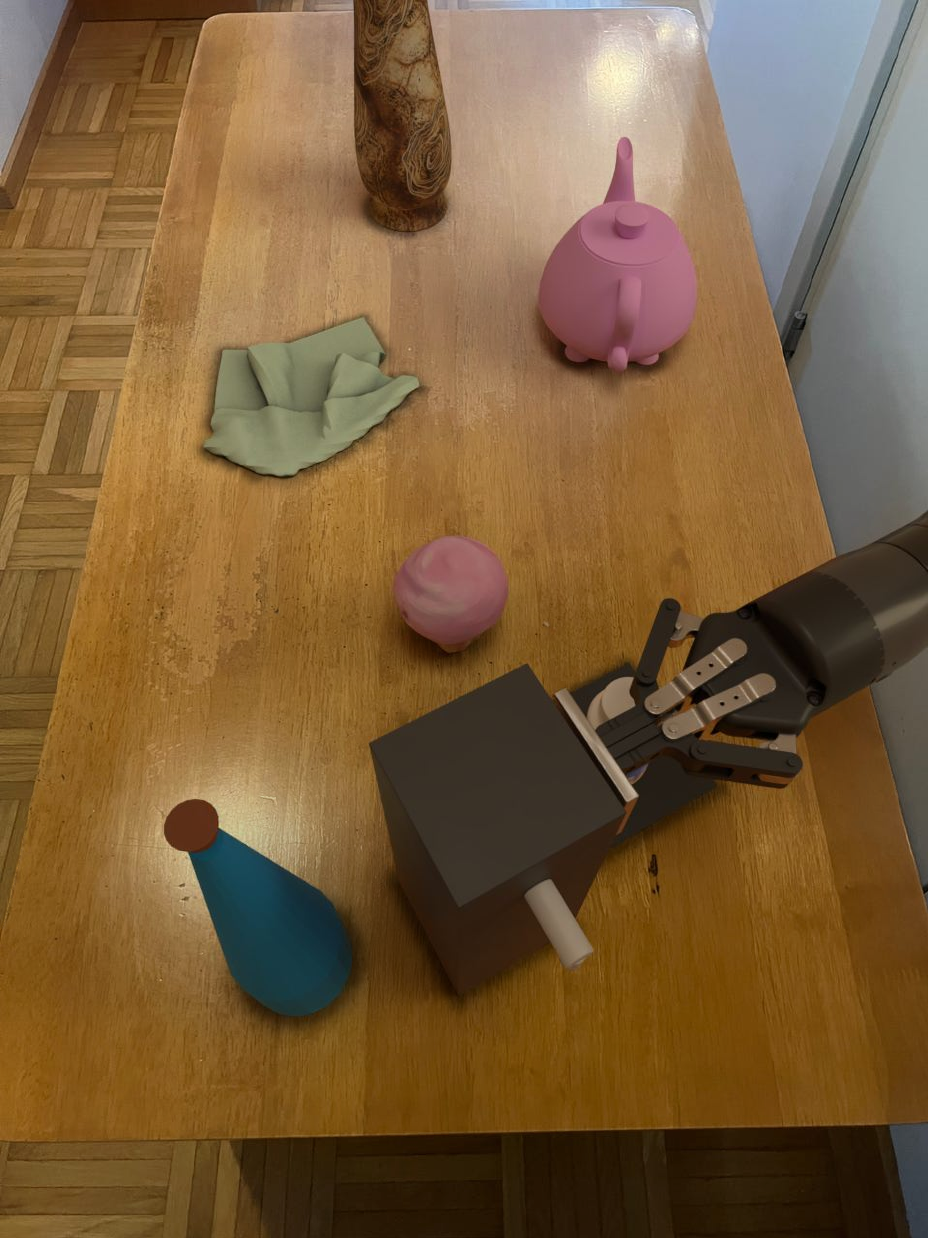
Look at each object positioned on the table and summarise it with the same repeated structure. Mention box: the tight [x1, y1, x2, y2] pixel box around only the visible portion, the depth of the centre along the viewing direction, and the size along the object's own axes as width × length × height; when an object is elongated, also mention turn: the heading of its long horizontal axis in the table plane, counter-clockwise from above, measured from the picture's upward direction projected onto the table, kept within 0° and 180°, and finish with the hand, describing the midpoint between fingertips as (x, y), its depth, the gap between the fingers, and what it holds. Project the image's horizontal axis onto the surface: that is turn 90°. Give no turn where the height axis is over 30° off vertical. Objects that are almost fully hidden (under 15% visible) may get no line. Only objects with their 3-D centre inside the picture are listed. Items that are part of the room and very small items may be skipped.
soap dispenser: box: [368, 663, 627, 997], centre depth 54 cm, size 13×9×26 cm
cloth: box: [203, 316, 420, 478], centre depth 90 cm, size 20×22×2 cm
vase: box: [352, 0, 453, 232], centre depth 93 cm, size 10×11×30 cm
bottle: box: [163, 798, 354, 1018], centre depth 52 cm, size 7×7×30 cm
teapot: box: [537, 136, 698, 373], centre depth 90 cm, size 22×16×14 cm
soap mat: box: [569, 662, 718, 850], centre depth 72 cm, size 12×12×1 cm
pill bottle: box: [586, 677, 648, 785], centre depth 68 cm, size 5×5×10 cm
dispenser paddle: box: [551, 687, 639, 835], centre depth 51 cm, size 7×1×6 cm, turn 29°
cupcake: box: [392, 535, 509, 654], centre depth 74 cm, size 9×9×10 cm
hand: (594, 760), depth 51 cm, fingers closed
